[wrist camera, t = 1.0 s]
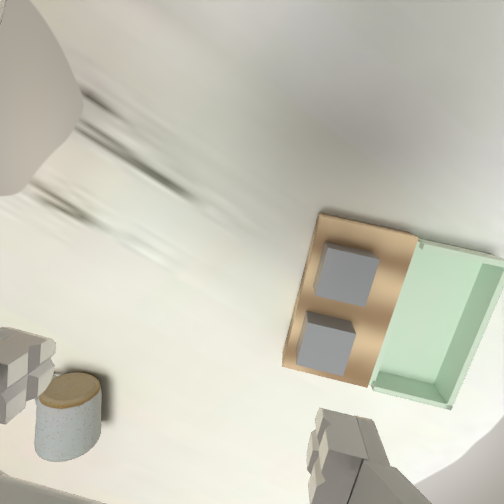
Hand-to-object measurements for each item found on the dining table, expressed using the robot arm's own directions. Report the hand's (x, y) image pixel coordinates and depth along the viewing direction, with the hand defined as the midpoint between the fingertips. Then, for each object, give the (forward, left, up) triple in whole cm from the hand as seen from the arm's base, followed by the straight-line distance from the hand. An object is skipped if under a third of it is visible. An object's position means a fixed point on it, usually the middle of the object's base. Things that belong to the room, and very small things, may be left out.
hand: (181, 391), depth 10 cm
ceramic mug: (+29, -20, -29) cm, 46 cm away
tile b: (+10, +9, -26) cm, 29 cm away
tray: (+6, +20, -29) cm, 36 cm away
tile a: (+2, +9, -26) cm, 28 cm away
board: (+6, +11, -29) cm, 31 cm away
